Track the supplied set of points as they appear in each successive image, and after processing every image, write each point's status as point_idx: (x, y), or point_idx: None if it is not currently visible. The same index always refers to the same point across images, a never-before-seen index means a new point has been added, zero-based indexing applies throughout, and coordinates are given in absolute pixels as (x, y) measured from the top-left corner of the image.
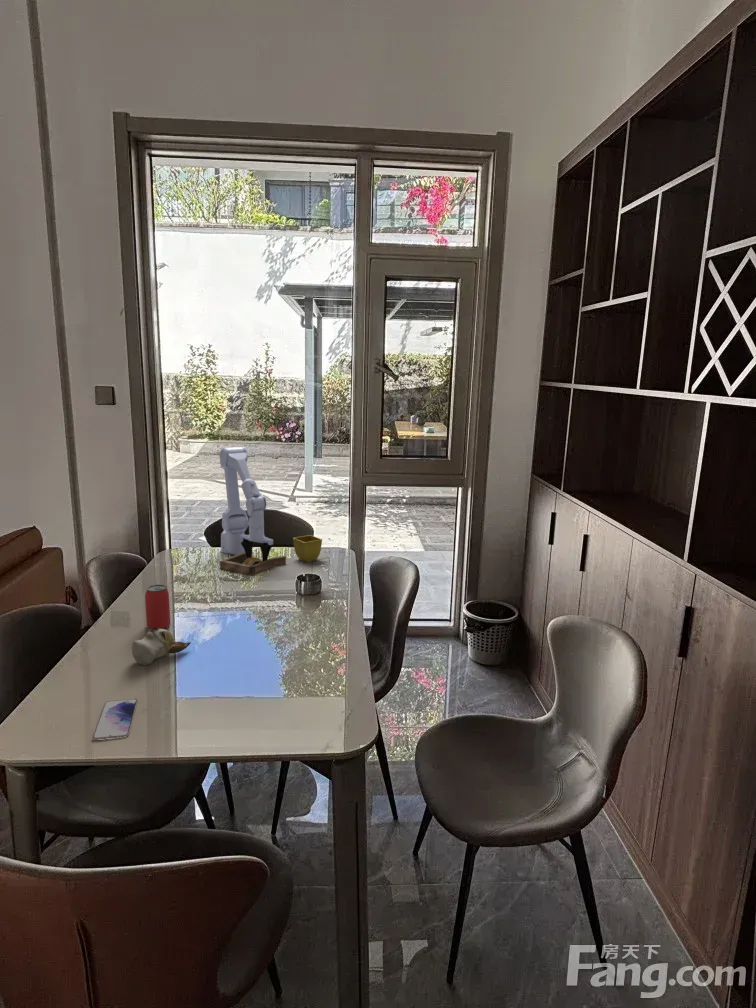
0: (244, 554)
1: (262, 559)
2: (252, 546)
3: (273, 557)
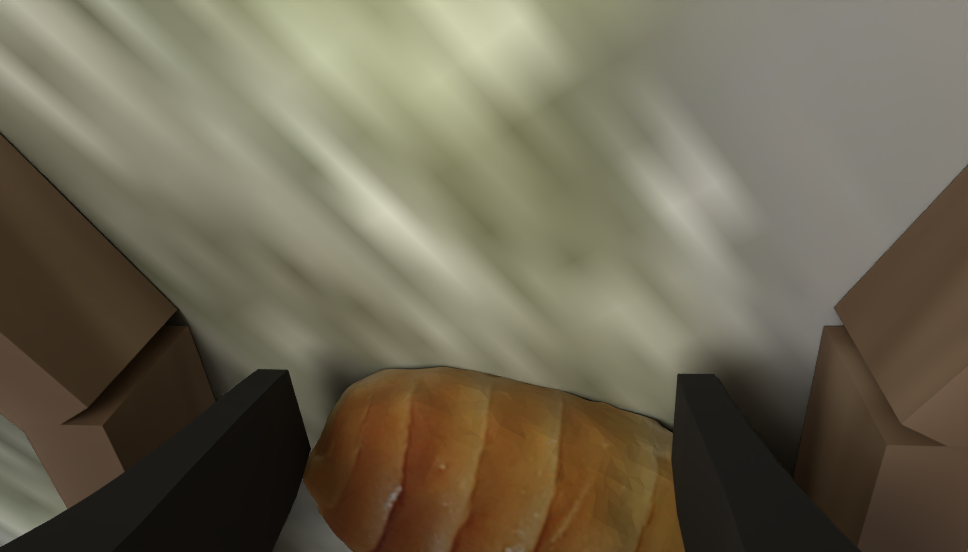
0: (134, 455)
1: (683, 513)
2: (128, 543)
3: (936, 412)
